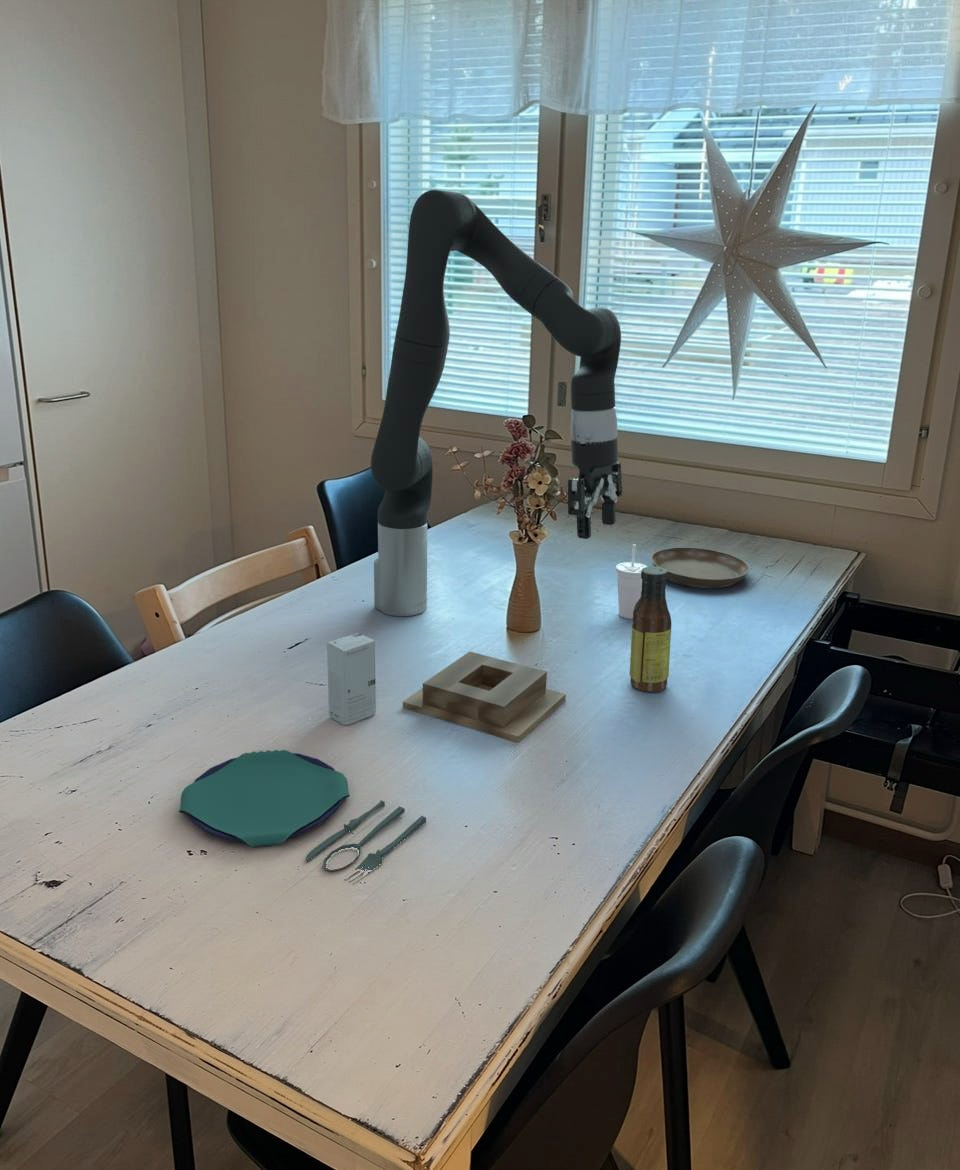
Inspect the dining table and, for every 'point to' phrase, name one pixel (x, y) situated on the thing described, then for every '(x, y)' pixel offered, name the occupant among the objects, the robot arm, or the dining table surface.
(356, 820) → the cutlery set
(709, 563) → the plant saucer
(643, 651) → the sauce bottle
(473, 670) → the socket holder
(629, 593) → the smoothie
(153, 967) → the dining table surface
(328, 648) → the skincare box
